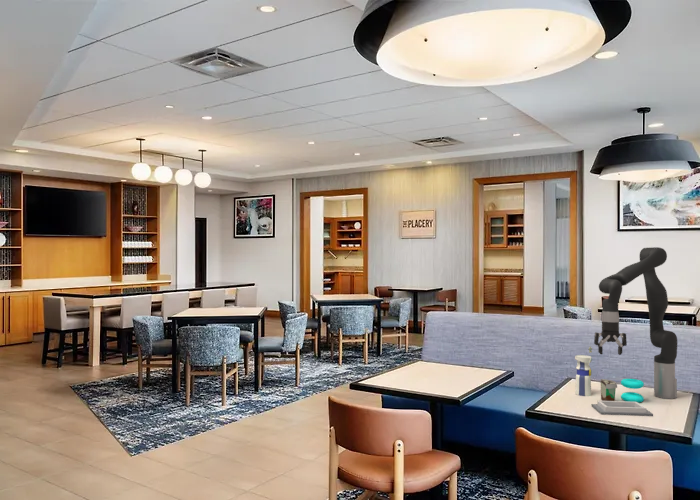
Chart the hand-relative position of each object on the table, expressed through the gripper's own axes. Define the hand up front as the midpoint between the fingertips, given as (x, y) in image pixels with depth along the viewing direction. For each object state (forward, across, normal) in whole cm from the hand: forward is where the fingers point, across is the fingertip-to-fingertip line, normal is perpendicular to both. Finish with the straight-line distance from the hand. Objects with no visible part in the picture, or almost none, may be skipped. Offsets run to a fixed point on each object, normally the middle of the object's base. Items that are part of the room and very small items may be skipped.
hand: (610, 354), depth 274 cm
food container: (+23, 0, 0) cm, 23 cm away
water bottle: (+23, +8, -15) cm, 29 cm away
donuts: (+23, -12, -5) cm, 27 cm away
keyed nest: (+23, 0, +15) cm, 28 cm away
